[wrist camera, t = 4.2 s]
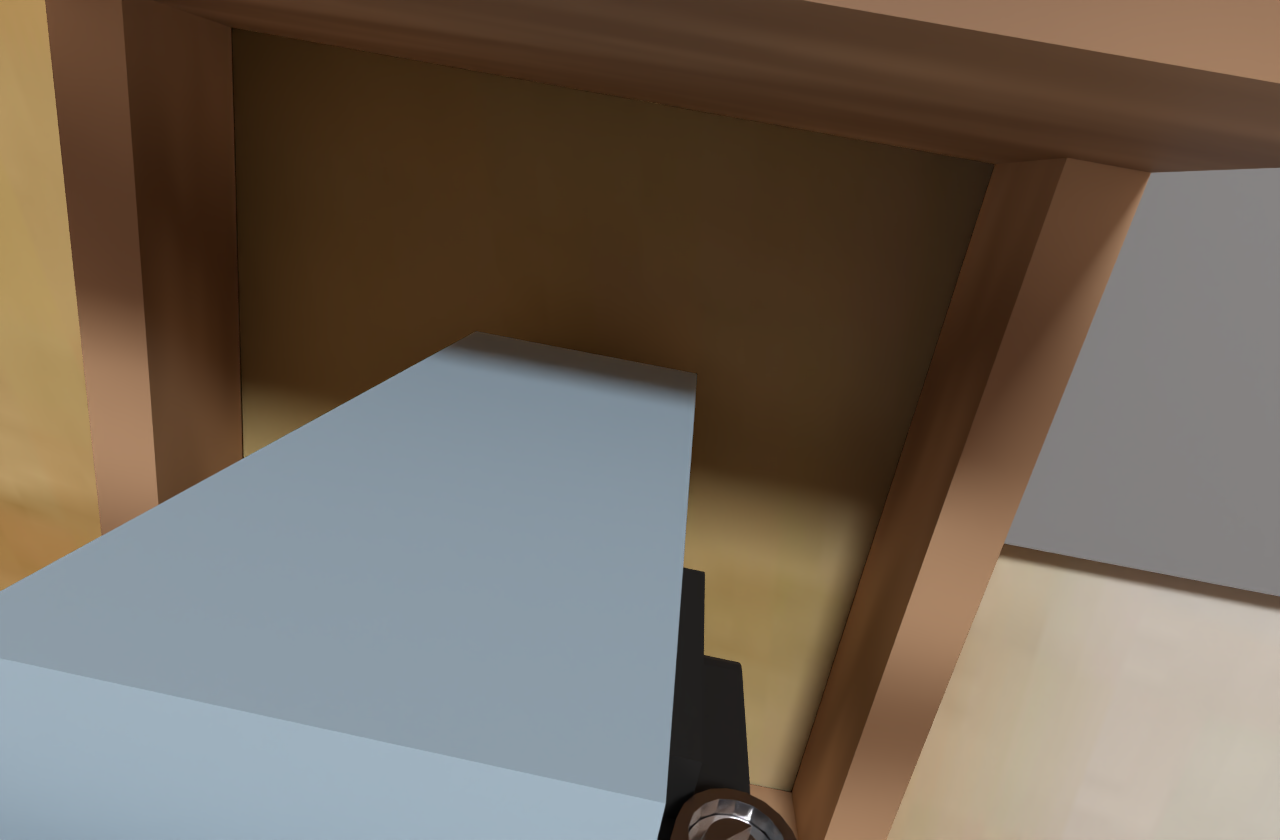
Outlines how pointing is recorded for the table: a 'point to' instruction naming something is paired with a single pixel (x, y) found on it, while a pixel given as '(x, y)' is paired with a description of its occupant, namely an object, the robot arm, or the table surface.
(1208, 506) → the mat
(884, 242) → the table surface
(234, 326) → the rack
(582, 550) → the pale blue upright prism
